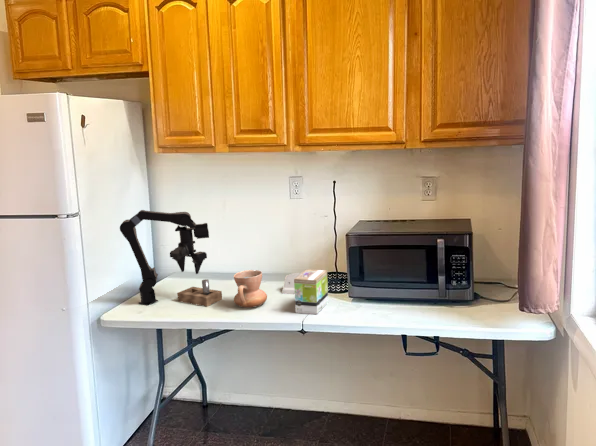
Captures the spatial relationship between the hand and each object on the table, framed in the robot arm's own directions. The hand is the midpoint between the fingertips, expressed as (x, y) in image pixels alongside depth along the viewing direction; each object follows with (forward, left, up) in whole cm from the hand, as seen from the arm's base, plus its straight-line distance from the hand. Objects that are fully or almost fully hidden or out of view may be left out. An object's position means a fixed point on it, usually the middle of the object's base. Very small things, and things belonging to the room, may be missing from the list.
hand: (189, 272), depth 251 cm
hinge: (+43, +27, -12) cm, 52 cm away
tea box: (+60, +10, -12) cm, 62 cm away
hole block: (+7, -2, -12) cm, 14 cm away
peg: (+11, -2, -12) cm, 16 cm away
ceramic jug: (+33, +2, -12) cm, 35 cm away
